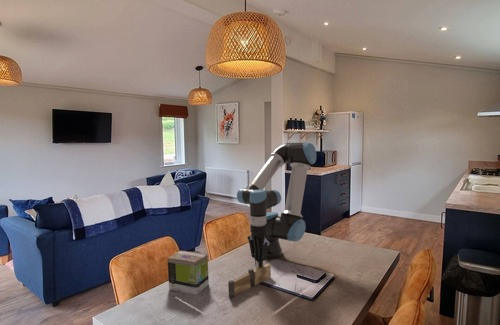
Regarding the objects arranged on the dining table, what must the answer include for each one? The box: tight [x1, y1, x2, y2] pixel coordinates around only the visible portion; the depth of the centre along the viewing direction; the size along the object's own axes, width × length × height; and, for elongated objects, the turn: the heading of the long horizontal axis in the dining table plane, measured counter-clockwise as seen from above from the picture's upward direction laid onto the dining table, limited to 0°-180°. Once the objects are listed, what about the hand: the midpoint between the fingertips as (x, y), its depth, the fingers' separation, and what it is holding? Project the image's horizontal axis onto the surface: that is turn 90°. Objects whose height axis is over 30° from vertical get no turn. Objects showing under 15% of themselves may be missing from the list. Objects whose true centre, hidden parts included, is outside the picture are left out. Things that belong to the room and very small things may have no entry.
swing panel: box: [247, 263, 272, 288], centre depth 138 cm, size 13×2×7 cm, turn 133°
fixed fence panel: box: [227, 272, 252, 299], centre depth 130 cm, size 2×12×7 cm, turn 137°
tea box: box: [167, 250, 210, 296], centre depth 136 cm, size 15×10×15 cm, turn 65°
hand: (259, 273), depth 142 cm, fingers closed
